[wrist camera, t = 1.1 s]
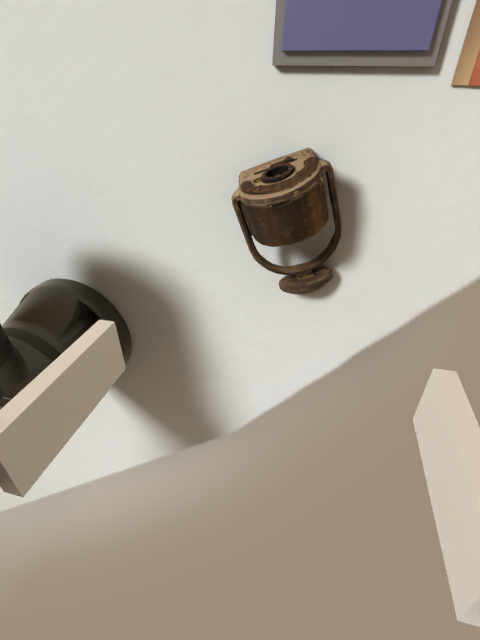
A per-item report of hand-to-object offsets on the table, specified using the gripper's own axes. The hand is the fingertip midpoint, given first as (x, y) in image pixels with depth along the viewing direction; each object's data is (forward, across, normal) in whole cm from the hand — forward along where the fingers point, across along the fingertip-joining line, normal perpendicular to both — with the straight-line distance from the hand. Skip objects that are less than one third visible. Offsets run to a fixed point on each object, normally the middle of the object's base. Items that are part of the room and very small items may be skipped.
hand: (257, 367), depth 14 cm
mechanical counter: (+21, -1, 0) cm, 21 cm away
